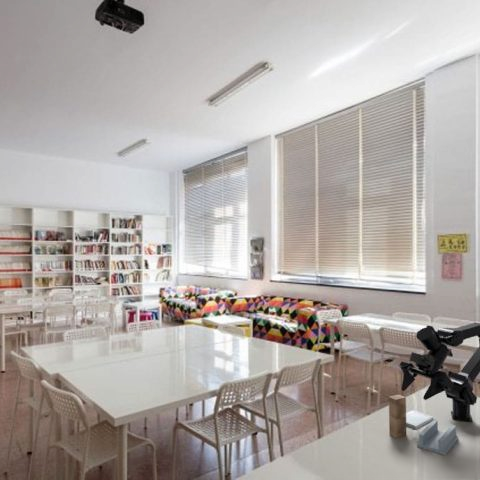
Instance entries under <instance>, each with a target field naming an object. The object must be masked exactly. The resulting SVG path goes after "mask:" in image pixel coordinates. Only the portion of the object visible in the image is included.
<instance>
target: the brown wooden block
mask: <svg viewBox="0 0 480 480" xmlns="http://www.w3.org/2000/svg"><path fill="white" fill-rule="evenodd" d="M406 413H407V398H406V396H403V395H401V394H395V395H391V396H388V419H389V420H388V423H389V424H388V425H389V426H388V427H389V428H388V429H389V432H388V433H389V435H390V436H392V437H394V438H396V439H398V438H402V437H405V436H407V426H406Z"/></svg>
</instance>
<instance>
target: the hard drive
mask: <svg viewBox="0 0 480 480" xmlns="http://www.w3.org/2000/svg"><path fill="white" fill-rule="evenodd" d="M433 419H434V417H433V416H432V415H428V414H426V413H422V412H420V411H416V410H413V409H412V410H410V411H408V412H406V427H409V428H412V429H413V430H417V429H419V428H421V427H422V426H424V425H427V424H429V423H431V422H432V421H433ZM434 420H435V419H434Z"/></svg>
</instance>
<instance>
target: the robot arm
mask: <svg viewBox="0 0 480 480" xmlns="http://www.w3.org/2000/svg"><path fill="white" fill-rule="evenodd" d="M415 337H416V339H417V340H418V341H419V342H420V344H421V345H422V346H423V347H424V348H425V350H427V351H428V352H426V353H423V354H420V353H416V352H413V351H412V352H411V354H410V357H409V361H406V360H401V362H399V364H398V366H399V368H400V370H401V372H402V374H403V377H402V382H401V383H402V384H401V391H402V392H405V391H406V390H407V389H408V388H409V387H410V386H411V385H412V383H414V381H415V380H416V377H418V375H419V376H421V377H424V378H426V379H429V380H430V384H429V386H428V387H427V390H426V391H425V393H424V395H423V397H422V399H423V400H424V401H427V400H429V399H431V398H433V397H434V396H437V395H438V394H440V393H442V392H444V393H445V396H446V398H448V399H451V401H452V404H451V405H452V410H451V411H450V416H451V420H456V421H465V422H471V423H472V422H473V420H474V419H473V417H472V415H471V406H475V404H477V400H478V397H477V396H476V395H475V393H474V392H473V391H474V384H473V382H474V381H475V380H476V378H477V377H478V375H479V374H480V321H479V320H477V321H475V322H473V323H469V324H465V325H462V326H459V327H440V328H438V329H437V330H435V328H434V326H433V325H426V326H425V327H423V328H421V329H419V330H417V332H416V335H415ZM474 337H477V338H478V344H479V346H478V348H477V349H476V350H475V351H474V353H472V355H471V357H470V358H469V360H468V361H467V362H466V363H465V365H464V366H463V367H462V369H461V370H460V371H459V372H454V371H452V372H450V374H449V375H448V374H447V373H444V372H441V371H440V370H444V368H445V367H444V365H443V364H444V362H445V361H446V359H447V358H448V357H450V358H452V357H453V356H454V355H453V351H452V348H449V347H454V348H457V347H458V346H460V345H462V344H463V343H464V340H467V339H468V340H469V339H471V338H474ZM448 346H449V347H448ZM412 362H413V363H415V365H414V364H413V363H412Z"/></svg>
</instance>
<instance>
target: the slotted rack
mask: <svg viewBox="0 0 480 480" xmlns="http://www.w3.org/2000/svg"><path fill="white" fill-rule="evenodd" d="M438 426H439V424H438V420H437V419H436V420H435V419H434V420H432V421H430V422H429V423H428V425H427V426H426V427H425V428H424V429H423V430H422V431H421V432H419V433H418V442H417V448H421V449H424V450H427V451H430V452H434V453H437V454H440V455H442V456H446V454H447V453H448V452H449V451H450V449H452V447H453V446H454V444H455V443H456V442H457V441H458V440H459V435H457V425H454V424H451V425H450V426H449V428H448V429H447V430H446V431H443V430H439V429H438V428H439V427H438Z"/></svg>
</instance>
